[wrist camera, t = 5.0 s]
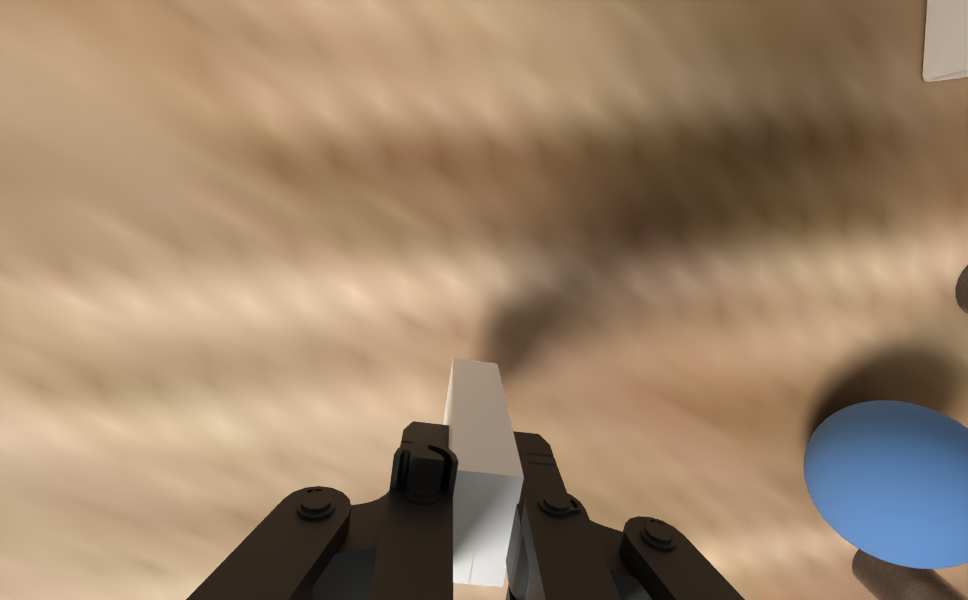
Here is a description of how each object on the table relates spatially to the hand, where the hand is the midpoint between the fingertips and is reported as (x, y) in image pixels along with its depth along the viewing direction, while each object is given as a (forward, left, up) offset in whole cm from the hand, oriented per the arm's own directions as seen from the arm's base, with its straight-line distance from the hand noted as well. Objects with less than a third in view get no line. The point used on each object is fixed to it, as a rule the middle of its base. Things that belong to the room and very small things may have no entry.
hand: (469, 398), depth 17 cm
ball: (+1, +15, +1) cm, 15 cm away
